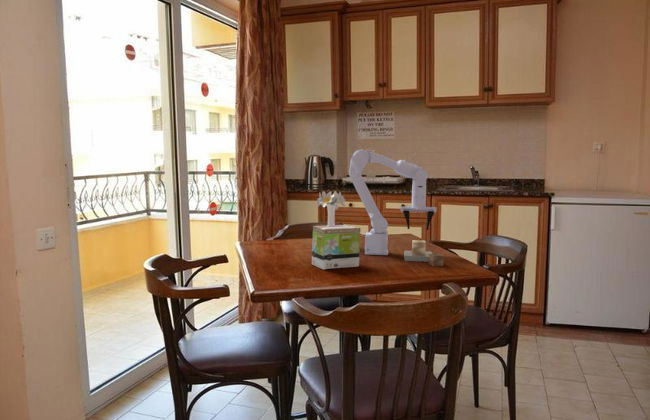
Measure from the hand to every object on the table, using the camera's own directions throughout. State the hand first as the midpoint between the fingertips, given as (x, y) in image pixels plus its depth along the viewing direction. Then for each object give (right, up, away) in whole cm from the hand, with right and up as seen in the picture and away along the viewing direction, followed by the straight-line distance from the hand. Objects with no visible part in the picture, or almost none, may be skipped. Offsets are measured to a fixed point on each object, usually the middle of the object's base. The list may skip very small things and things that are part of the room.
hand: (417, 229), depth 210 cm
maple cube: (-1, -9, -9) cm, 13 cm away
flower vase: (-36, -9, +17) cm, 41 cm away
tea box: (-35, -13, -23) cm, 44 cm away
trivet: (-1, -11, -9) cm, 14 cm away
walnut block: (+3, -13, -20) cm, 24 cm away
